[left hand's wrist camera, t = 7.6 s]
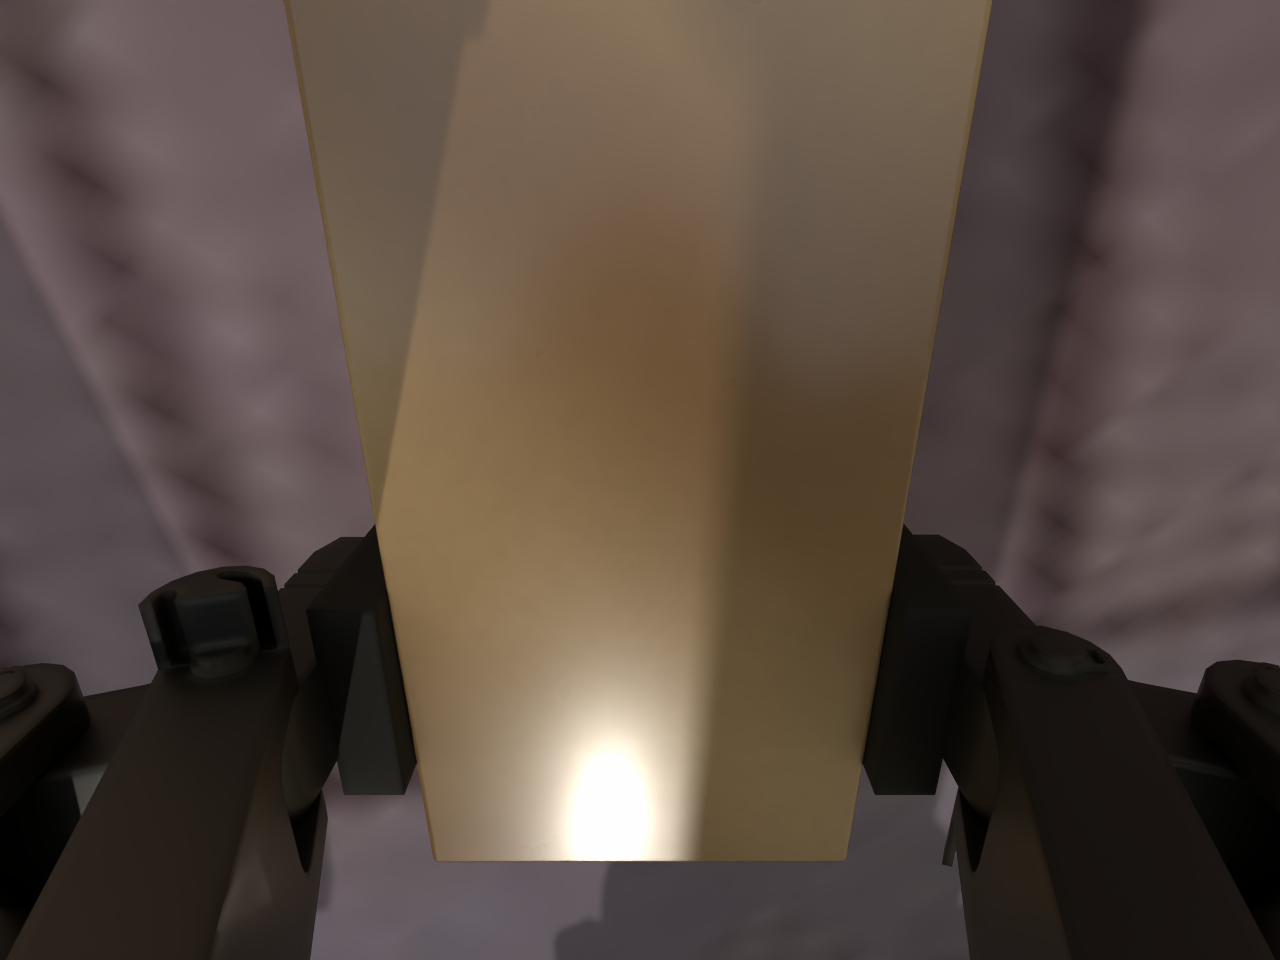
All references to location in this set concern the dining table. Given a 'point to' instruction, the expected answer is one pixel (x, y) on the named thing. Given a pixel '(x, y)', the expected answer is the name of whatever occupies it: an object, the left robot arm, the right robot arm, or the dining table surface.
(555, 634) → the brass rectangular prism
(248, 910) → the left robot arm
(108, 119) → the dining table surface
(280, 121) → the dining table surface
